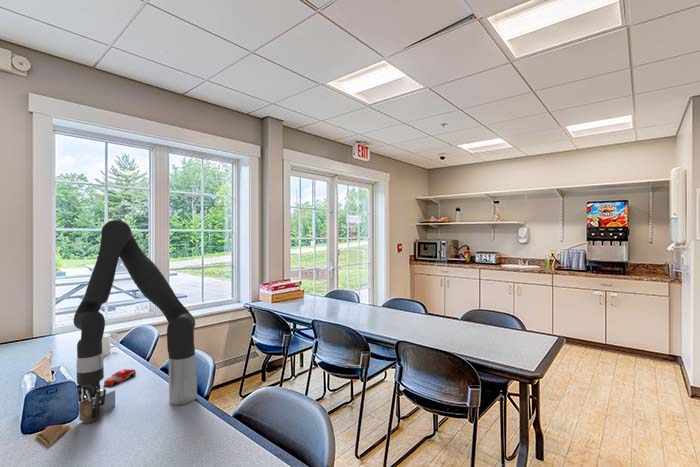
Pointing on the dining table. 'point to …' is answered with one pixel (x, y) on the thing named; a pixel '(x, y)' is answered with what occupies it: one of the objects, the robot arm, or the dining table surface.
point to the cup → (107, 343)
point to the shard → (52, 433)
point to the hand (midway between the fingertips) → (91, 415)
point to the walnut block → (87, 411)
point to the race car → (120, 377)
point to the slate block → (109, 399)
